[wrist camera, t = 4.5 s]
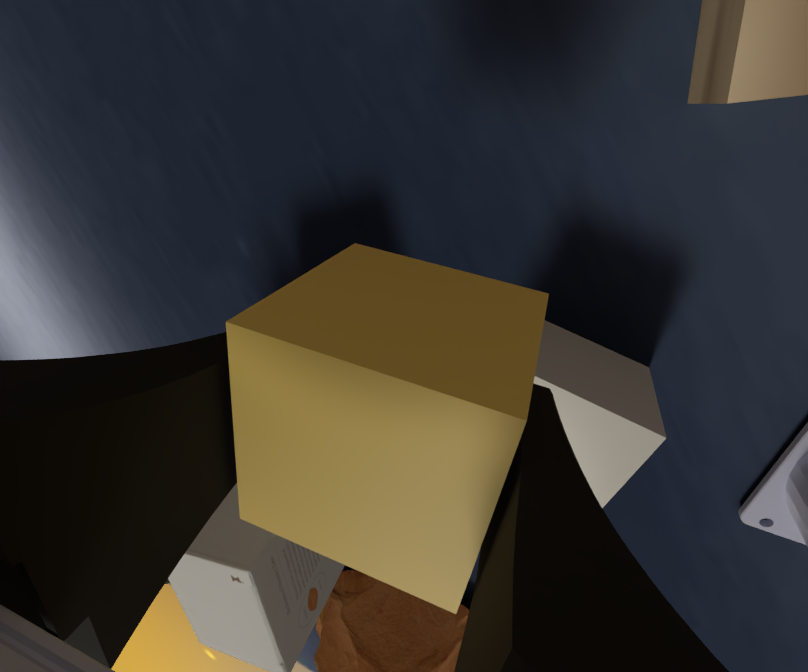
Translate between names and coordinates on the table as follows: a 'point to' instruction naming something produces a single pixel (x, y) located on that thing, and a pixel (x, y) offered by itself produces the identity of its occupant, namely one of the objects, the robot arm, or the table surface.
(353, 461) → the mustard cube
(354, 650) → the stone
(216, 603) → the small box
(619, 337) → the table surface
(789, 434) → the table surface
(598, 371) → the grey cube
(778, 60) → the maple cube
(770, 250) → the table surface
